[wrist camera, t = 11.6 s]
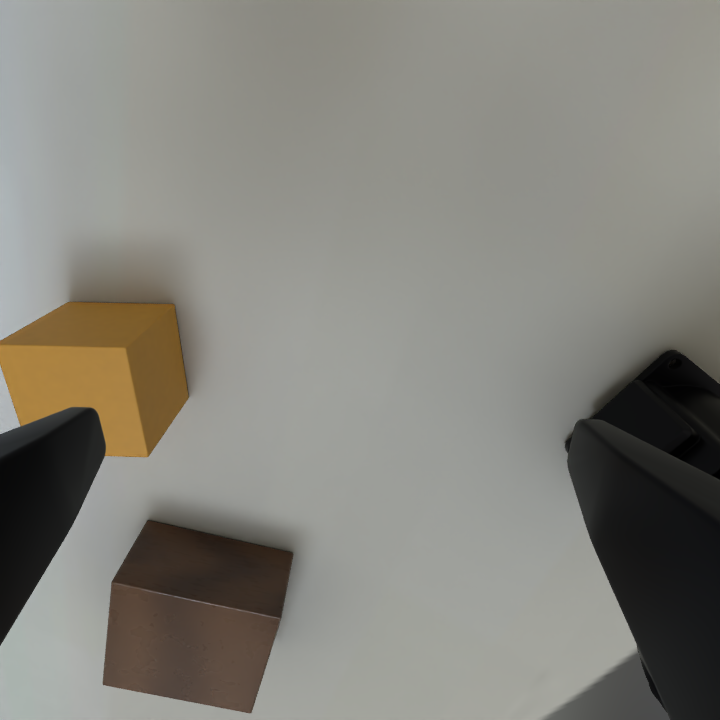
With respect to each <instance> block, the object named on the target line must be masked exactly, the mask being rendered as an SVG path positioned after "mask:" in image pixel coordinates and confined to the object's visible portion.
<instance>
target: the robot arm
mask: <svg viewBox="0 0 720 720" xmlns="http://www.w3.org/2000/svg"><path fill="white" fill-rule="evenodd" d="M674 359H676V362H675V363H674V364H673V365H670V366H669V363H670V362H671V361H672V360H674ZM565 449H566V451H567V453H568V459H567V463H568V469H569V473H570V476H571V479H572V482H573V486H574V489H575V492H576V495H577V498H578V502H579V505H580V508H581V511H582V514H583V518H584V521H585V524H586V527H587V530H588V533H589V536H590V539H591V541H592V544H593V546H594V549H595V551H596V553H597V556H598V558H599V560H600V562H601V565H602V567H603V569H604V571H605V574H606V576H607V578H608V580H609V583H610V585H611V587H612V589H613V592H614V594H615V596H616V598H617V601H618V603H619V605H620V607H621V610H622V612H623V614H624V616H625V619H626V621H627V623H628V625H629V628H630V630H631V632H632V634H633V637H634V639H635V641H636V643H637V649H638V653H639V655H640V659H641V663H642V667H643V669H644V672H645V675H646V678H647V680H648V682H649V686H650V689H651V691H652V693H653V694H654V696H655V697H656V698H657V699H658V700H659V702H660V703H661V705H662V706H663V708H664V709H665V710H666V712H667V713H668V715H669V718H670V720H720V384H719V383H717V382H716V381H715V380H714V379H712V378H711V377H710V376H709V375H708V374H706V373H705V372H704V371H703V370H701V369H700V368H699V367H698V366H697V365H695V364H694V363H693V362H692V361H690V360H689V359H688V358H687V357H686V356H684V355H683V354H682V353H680V352H678V351H676V350H670V351H666V352H665V353H663V354H662V355H661V356H660V357H659V358H658V359H656V360H655V361H654V362H653V363H652V364H651V365H650V366H649V367H648V368H647V369H645V370H644V371H643V372H642V373H641V374H640V375H639V376H638V377H637V378H636V379H634V380H633V381H632V382H631V383H630V384H629V385H628V386H627V387H626V388H624V389H623V390H622V391H621V392H620V393H619V394H618V395H617V396H616V397H615V398H613V399H612V400H611V401H610V402H609V403H608V404H607V405H606V406H605V407H604V408H602V409H601V410H600V411H599V412H598V413H597V414H596V415H595V416H594V417H593V418H592V419H581V420H579V421H578V422H577V423H576V425H575V427H574V431H573V436H572V437H571V438H570V439H569V440H568V441H567V442H566V444H565ZM105 453H106V442H105V438H104V434H103V430H102V426H101V422H100V418H99V415H98V412H97V411H96V410H95V409H94V408H91V407H70V408H67V409H64V410H62V411H59V412H57V413H54V414H52V415H49V416H46V417H44V418H41V419H39V420H36V421H33V422H31V423H28V424H26V425H23V426H20V427H18V428H15V429H13V430H10V431H8V432H5V433H2V434H0V645H1V644H2V642H3V640H4V639H5V637H6V635H7V634H8V632H9V630H10V629H11V627H12V625H13V624H14V622H15V620H16V619H17V617H18V615H19V614H20V612H21V610H22V609H23V607H24V605H25V604H26V602H27V600H28V599H29V597H30V595H31V594H32V592H33V590H34V589H35V587H36V585H37V584H38V582H39V580H40V579H41V577H42V575H43V574H44V572H45V571H46V569H47V567H48V566H49V564H50V562H51V561H52V559H53V557H54V556H55V554H56V552H57V551H58V549H59V547H60V546H61V544H62V542H63V541H64V539H65V537H66V535H67V534H68V532H69V530H70V528H71V527H72V525H73V523H74V521H75V519H76V517H77V515H78V513H79V511H80V509H81V506H82V504H83V502H84V500H85V498H86V496H87V493H88V491H89V489H90V487H91V485H92V483H93V481H94V478H95V476H96V474H97V472H98V470H99V468H100V465H101V463H102V461H103V459H104V456H105Z"/></svg>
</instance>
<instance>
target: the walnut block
mask: <svg viewBox="0 0 720 720" xmlns="http://www.w3.org/2000/svg"><path fill="white" fill-rule="evenodd" d="M292 559H293V553H291V552H286V551H282V550H277V549H273V548H268V547H264V546H260V545H255V544H251V543H246V542H242V541H237V540H233V539H229V538H224V537H220V536H215V535H211V534H206V533H202V532H198V531H193V530H189V529H184V528H180V527H175V526H171V525H166V524H162V523H158V522H153V521H149V520H148V521H147V522H146V524H145V525H144V527H143V529H142V530H141V532H140V534H139V536H138V537H137V539H136V541H135V543H134V544H133V546H132V548H131V549H130V551H129V553H128V555H127V556H126V558H125V560H124V562H123V563H122V565H121V567H120V569H119V570H118V572H117V574H116V575H115V577H114V579H113V581H112V585H111V596H110V607H109V618H108V629H107V640H106V652H105V663H104V674H103V685H106V686H111V687H116V688H121V689H127V690H132V691H137V692H142V693H147V694H153V695H158V696H163V697H168V698H173V699H178V700H184V701H189V702H194V703H199V704H204V705H210V706H215V707H220V708H225V709H230V710H235V711H241V712H246V713H251V712H252V710H253V706H254V703H255V700H256V697H257V694H258V691H259V687H260V684H261V681H262V678H263V675H264V671H265V668H266V665H267V662H268V659H269V656H270V652H271V649H272V646H273V643H274V640H275V637H276V633H277V630H278V627H279V624H280V621H281V617H282V612H283V607H284V601H285V596H286V591H287V586H288V580H289V575H290V570H291V564H292Z"/></svg>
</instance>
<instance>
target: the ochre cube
mask: <svg viewBox="0 0 720 720" xmlns="http://www.w3.org/2000/svg"><path fill="white" fill-rule="evenodd" d="M0 365H1V368H2V371H3V374H4V377H5V380H6V384H7V387H8V390H9V393H10V396H11V399H12V402H13V405H14V408H15V411H16V414H17V417H18V420H19V423H20V426H23V425H26V424H28V423H31V422H33V421H36V420H39V419H41V418H44V417H46V416H49V415H52V414H54V413H57V412H59V411H62V410H64V409H67V408H70V407H91V408H94V409H95V410H96V411H97V412H98V415H99V418H100V422H101V426H102V430H103V434H104V438H105V442H106V453H105V456H124V457H149V455H150V454H151V452H152V451H153V449H154V448H155V446H156V445H157V443H158V442H159V441H160V439H161V438H162V436H163V435H164V433H165V432H166V430H167V429H168V427H169V426H170V424H171V423H172V422H173V420H174V419H175V417H176V416H177V414H178V413H179V411H180V410H181V408H182V407H183V405H184V404H185V403H186V401H187V400H188V398H189V396H188V390H187V383H186V377H185V370H184V364H183V357H182V351H181V344H180V338H179V331H178V325H177V318H176V312H175V305H174V304H139V303H93V302H67V303H66V304H64V305H62V306H60V307H59V308H57V309H55V310H53V311H52V312H50V313H48V314H46V315H45V316H43V317H41V318H39V319H38V320H36V321H34V322H32V323H31V324H29V325H27V326H25V327H24V328H22V329H20V330H18V331H17V332H15V333H13V334H11V335H10V336H8V337H6V338H4V339H3V340H1V341H0Z"/></svg>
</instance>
